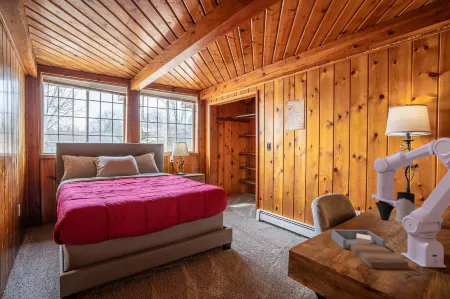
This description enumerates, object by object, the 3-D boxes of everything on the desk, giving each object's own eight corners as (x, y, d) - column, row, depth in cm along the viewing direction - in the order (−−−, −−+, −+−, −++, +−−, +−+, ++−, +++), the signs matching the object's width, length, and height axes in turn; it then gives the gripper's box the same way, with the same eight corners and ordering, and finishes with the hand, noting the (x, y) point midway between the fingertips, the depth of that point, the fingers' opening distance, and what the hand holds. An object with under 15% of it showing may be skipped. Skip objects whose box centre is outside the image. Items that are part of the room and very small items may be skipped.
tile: (370, 246, 90) (370, 239, 90) (356, 243, 93) (356, 237, 93) (370, 241, 94) (370, 235, 94) (356, 239, 97) (356, 233, 97)
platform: (408, 268, 74) (408, 262, 74) (371, 267, 75) (371, 261, 75) (379, 249, 88) (379, 244, 88) (348, 248, 89) (348, 243, 89)
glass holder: (393, 220, 124) (393, 193, 123) (399, 215, 133) (400, 189, 133) (414, 224, 117) (414, 195, 117) (419, 219, 126) (419, 192, 126)
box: (384, 249, 88) (384, 240, 88) (343, 248, 89) (343, 239, 89) (367, 238, 99) (367, 229, 99) (330, 237, 100) (330, 229, 100)
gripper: (409, 190, 87) (408, 226, 87) (383, 184, 101) (382, 215, 102) (390, 190, 87) (389, 226, 87) (367, 184, 101) (366, 214, 102)
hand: (384, 220), depth 94 cm, fingers closed
